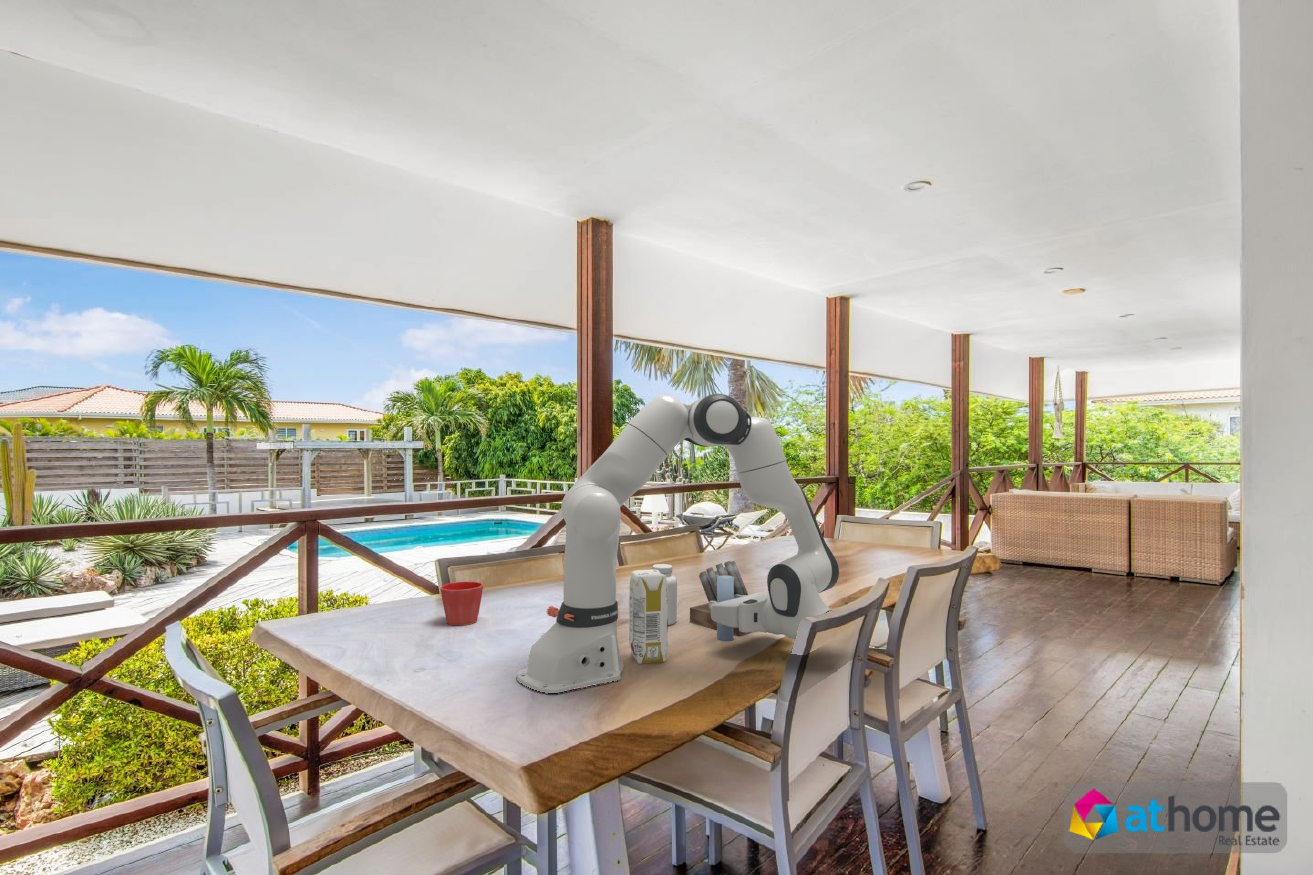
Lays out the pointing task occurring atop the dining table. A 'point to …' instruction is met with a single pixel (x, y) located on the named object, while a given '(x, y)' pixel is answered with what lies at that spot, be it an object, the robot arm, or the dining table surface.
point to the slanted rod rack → (709, 583)
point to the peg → (725, 593)
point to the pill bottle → (669, 590)
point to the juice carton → (648, 616)
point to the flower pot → (461, 602)
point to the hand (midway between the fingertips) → (722, 600)
